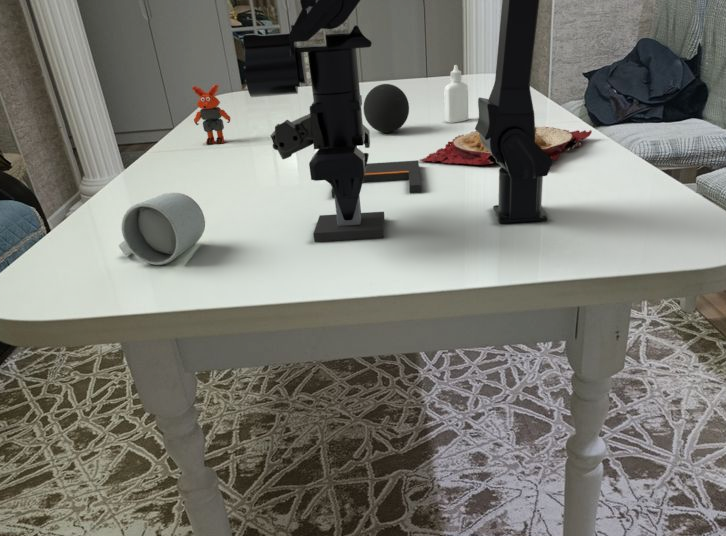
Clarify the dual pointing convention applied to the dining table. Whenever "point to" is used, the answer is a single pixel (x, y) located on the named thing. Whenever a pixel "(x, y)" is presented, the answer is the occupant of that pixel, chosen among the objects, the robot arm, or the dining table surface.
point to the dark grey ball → (386, 108)
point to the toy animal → (210, 114)
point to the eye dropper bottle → (456, 98)
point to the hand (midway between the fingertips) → (349, 215)
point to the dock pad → (393, 173)
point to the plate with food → (474, 152)
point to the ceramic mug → (162, 228)
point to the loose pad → (349, 225)
